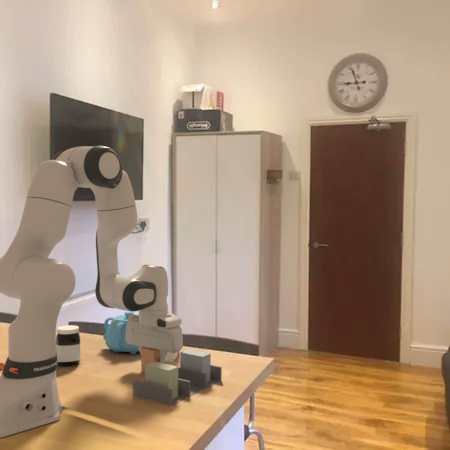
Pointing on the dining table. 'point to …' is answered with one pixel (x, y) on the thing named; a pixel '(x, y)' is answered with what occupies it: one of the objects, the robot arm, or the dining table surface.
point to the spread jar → (68, 345)
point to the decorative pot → (118, 334)
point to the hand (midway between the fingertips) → (153, 362)
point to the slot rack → (187, 386)
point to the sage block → (162, 376)
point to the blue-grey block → (196, 361)
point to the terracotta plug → (149, 357)
